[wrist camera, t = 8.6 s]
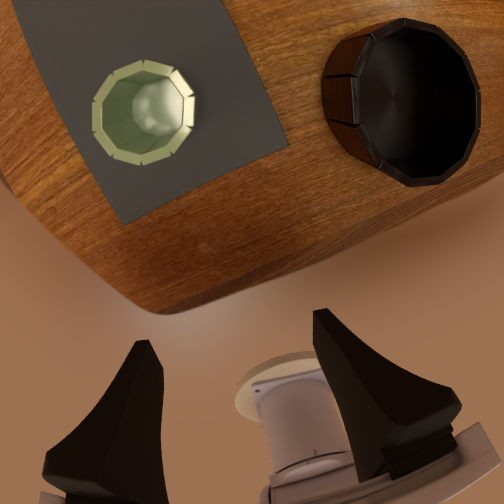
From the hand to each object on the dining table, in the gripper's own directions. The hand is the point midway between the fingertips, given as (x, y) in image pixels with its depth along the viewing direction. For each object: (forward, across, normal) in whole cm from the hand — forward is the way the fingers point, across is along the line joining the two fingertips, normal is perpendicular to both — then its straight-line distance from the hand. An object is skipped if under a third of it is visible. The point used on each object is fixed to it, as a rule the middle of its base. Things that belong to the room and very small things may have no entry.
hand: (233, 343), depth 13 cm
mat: (+10, +10, -37) cm, 40 cm away
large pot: (+10, -13, -9) cm, 19 cm away
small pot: (+9, +2, -10) cm, 14 cm away
